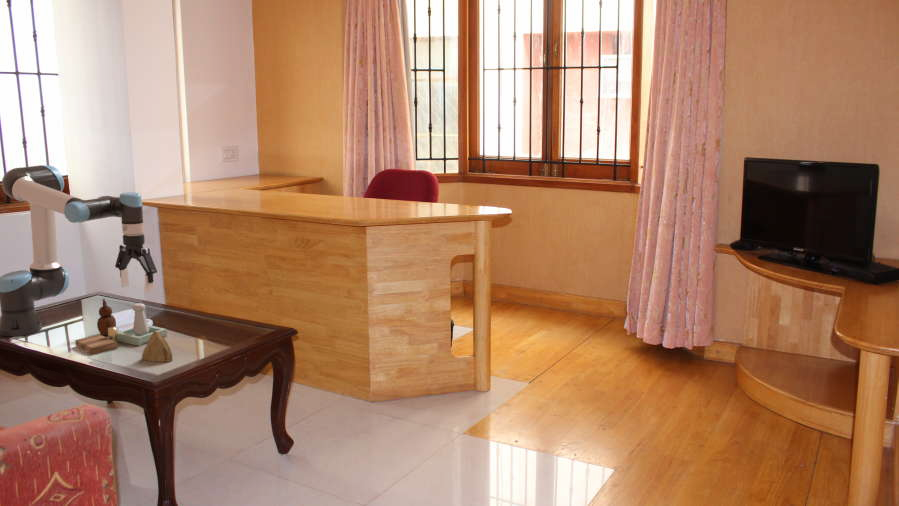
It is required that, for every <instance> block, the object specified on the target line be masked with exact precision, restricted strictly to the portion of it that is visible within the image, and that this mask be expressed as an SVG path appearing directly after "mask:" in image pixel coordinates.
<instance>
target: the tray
mask: <svg viewBox="0 0 899 506" xmlns="http://www.w3.org/2000/svg"><path fill="white" fill-rule="evenodd" d="M148 327H149V333H148V334H146V335H143V336H140V337H139V336H135V334H134V333H133V327H130V328H128V329H124V330H121V331H117V342H121V343H126V344H130V345H134V346H144V345H147V343H148V341H149V339H150V337H151V335H152V334H153V332H154V331H156V332H159V333H160V334H161V335H162V336H163V338H164V339H165V338H167V337H168V331H167V328H162V327H158V326H153V325H149V324H148Z"/></svg>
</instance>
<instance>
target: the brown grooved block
mask: <svg viewBox="0 0 899 506" xmlns="http://www.w3.org/2000/svg"><path fill="white" fill-rule="evenodd" d="M117 342H118V341H117ZM117 342H115V341H113V340H111V339H109V338H108V337H107V336H104V335H101V334H96V335H92V336H86V337H83V338H78V339H75V347H76V348H78V349H80V350H82V351H85V352H86V353H88V352H89V353H88V354H91V355H94V356H95V355H98V354H102V353H106V352H111V351H114V350H117V349H118V343H117Z"/></svg>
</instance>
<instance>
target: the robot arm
mask: <svg viewBox="0 0 899 506" xmlns="http://www.w3.org/2000/svg"><path fill="white" fill-rule="evenodd" d="M1 188H2V190H3V192H4V193H5V194H6V195H7V196H8V197H10V198H12V199H13V200H16V201H19V202H27V203H29V209H30V210H29V211H30V212H29V213H30V228H31V239H32V240H31V241H32V243H31V244H32V258H33V262H32V263H30V265H29V270H16V271H10V272H7V273H5V274H3V275H1V276H0V313H1V314H0V336H3V337H18V336H19V337H20V336H26V335H30V334H33V333H34V334H35V333H37V332H39V331H41V330H42V329H43V327H42V321H41V320H40V317H39V315H38V314H37V311H36V309H35V302H38V301H41V300H44V299H49V298H54V297H57V296H58V295H61V294H63V293H65V292H66V290H67V289H68V288H69V284H70V276H69V273H68V271H67V269H66V268H64V267H63V265H62V263H61V262H60V261H58V249H57V247H58V246H57V233H56V229H57V228H56V216H55V215H56V213H59V214H61V215H64V217H65V218H66V219H67V220H68V222H69V223H73V224H75V223H76V224H77V223H78V224H79V223H85V222H89V221H94V220H100V219H101V220H102V219H106V218H121V219H120V220H121V230H122V232H121V233H122V234H123V235H122V243H123V244H120V245H119V250H118V255H117V259H116V261H115V265H114V267H115V268H116V269H118V270H119V276H120V283H121V288H125V287H129V286H130V284H129V283H130V282H129V270H128V266H129V264H130V262H131V261H132V259H134V260H136V261H137V262H139V264H140V266H141V267H142V269H143V271H144V272H145V275H144V279H145V280H144V282H145V292H146V293H149V292H152V291H154V274H157V273H158V270H157V268H156V264H155V263H154V260H153V256H152V255H151V250H150V248H149V247H145V248H144V246H143V245H144V244H145V234H144V232H145V225H144V214H143V213H144V212H143V199H142V195H141V194H140V193H139V192H122V193H120V194H119V196H110V195H102V196H99V197H97V198H92V199H81V198H79V197H77V196H73V195H71V194H69V193H68V194H67V193H65V192H63V190H64V188H65V181H64V178H63V175H62V174H61V172H60V171H59V169H57V168H56V167H54V166H52V165H50V164H49V165H48V164H47V165H45V164H44V165H41V164H39V165H33V166H23V167H14V168H12V169H10V170H8V171H7V172H6V173H5V174H4V175H3V177H2V180H1Z"/></svg>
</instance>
